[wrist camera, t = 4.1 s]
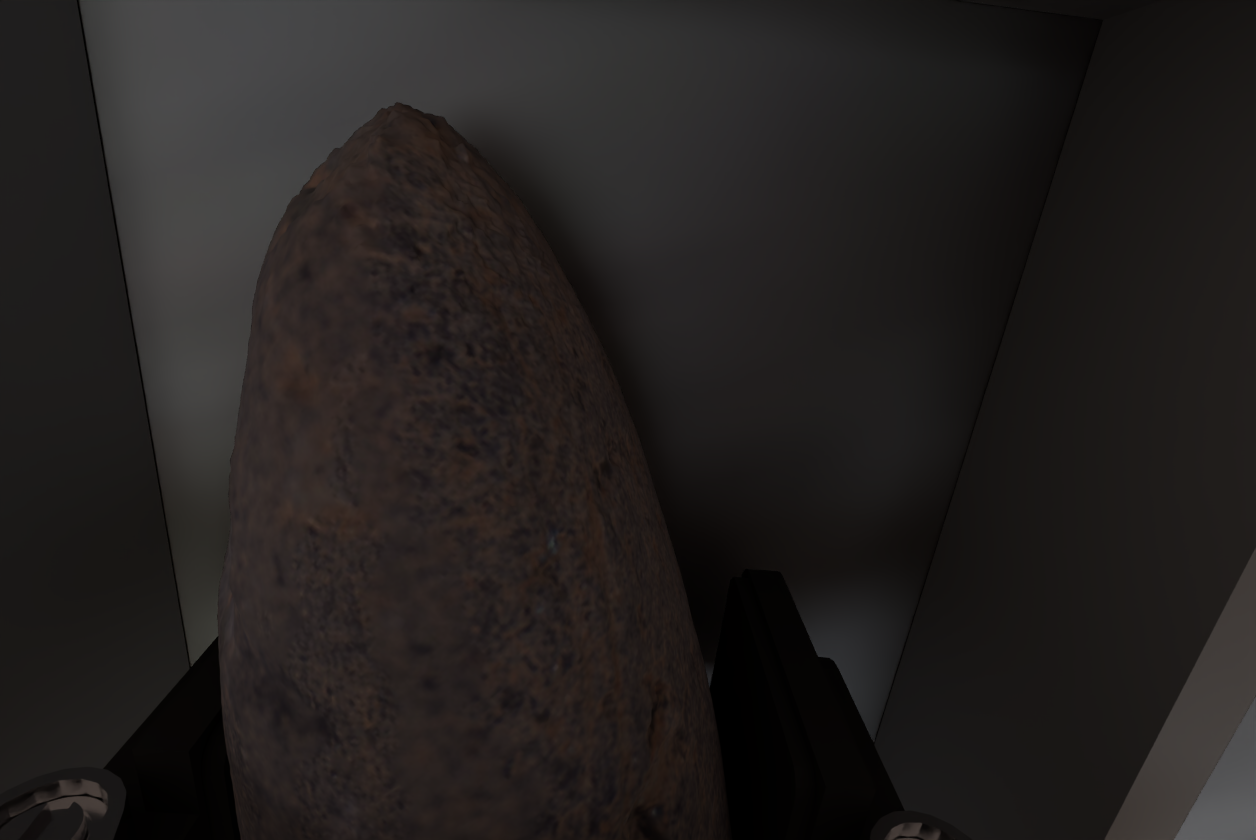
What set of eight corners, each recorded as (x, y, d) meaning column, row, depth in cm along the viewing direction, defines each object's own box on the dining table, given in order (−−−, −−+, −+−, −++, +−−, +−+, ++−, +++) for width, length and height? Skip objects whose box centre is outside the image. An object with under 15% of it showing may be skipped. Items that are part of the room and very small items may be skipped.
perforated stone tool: (285, 143, 9) (-751, 18, 2) (674, 110, 9) (872, -123, 2) (470, 890, 14) (344, 1521, 7) (710, 871, 14) (799, 1486, 7)
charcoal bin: (1186, -46, 8) (1823, -299, 4) (833, 978, 15) (919, 1284, 11) (-33, -217, 7) (-954, -791, 3) (201, 953, 14) (29, 1277, 10)
